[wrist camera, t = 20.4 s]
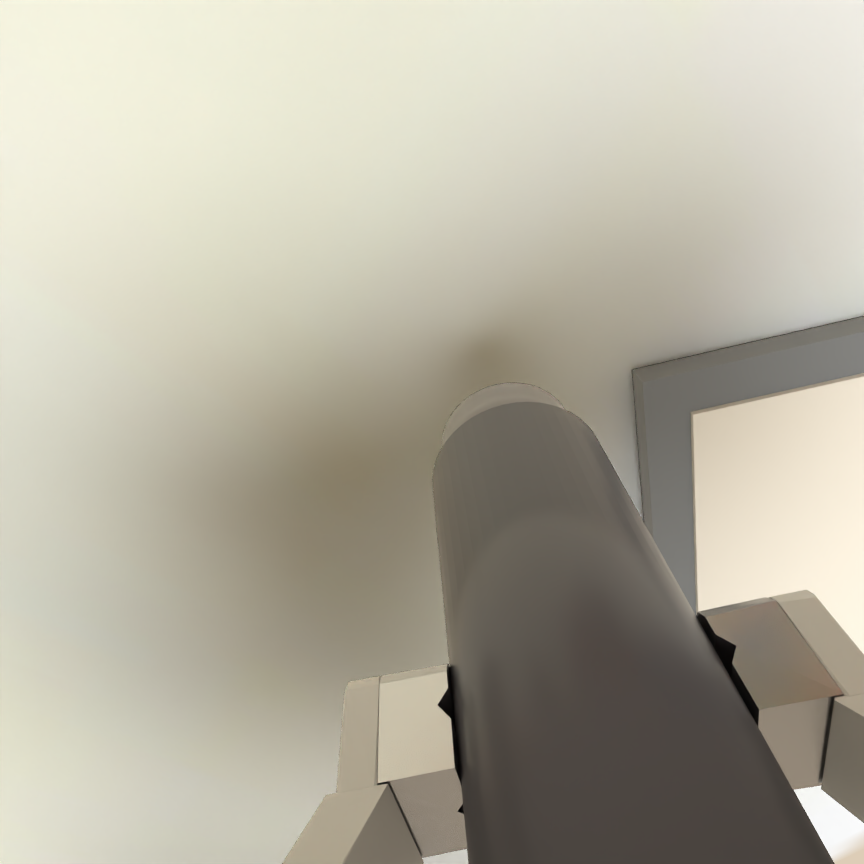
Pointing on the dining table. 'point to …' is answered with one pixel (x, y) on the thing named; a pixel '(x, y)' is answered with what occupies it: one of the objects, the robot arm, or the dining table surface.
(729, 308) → the dining table surface
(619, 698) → the marker
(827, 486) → the writing board
